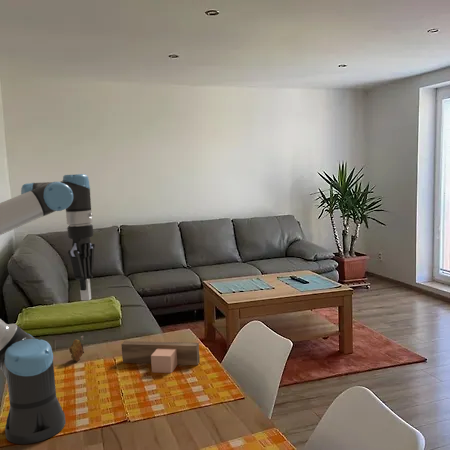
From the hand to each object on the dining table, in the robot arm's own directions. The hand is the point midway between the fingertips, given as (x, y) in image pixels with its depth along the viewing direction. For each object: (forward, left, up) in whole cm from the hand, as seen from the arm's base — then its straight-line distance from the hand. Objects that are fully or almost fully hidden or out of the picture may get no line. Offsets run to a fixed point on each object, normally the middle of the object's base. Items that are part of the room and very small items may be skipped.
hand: (86, 299), depth 148 cm
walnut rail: (+22, -15, -29) cm, 40 cm away
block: (+17, -18, -30) cm, 39 cm away
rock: (+23, +17, -30) cm, 41 cm away
